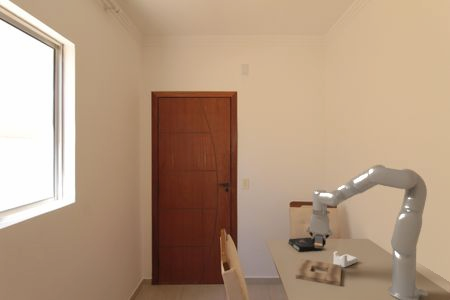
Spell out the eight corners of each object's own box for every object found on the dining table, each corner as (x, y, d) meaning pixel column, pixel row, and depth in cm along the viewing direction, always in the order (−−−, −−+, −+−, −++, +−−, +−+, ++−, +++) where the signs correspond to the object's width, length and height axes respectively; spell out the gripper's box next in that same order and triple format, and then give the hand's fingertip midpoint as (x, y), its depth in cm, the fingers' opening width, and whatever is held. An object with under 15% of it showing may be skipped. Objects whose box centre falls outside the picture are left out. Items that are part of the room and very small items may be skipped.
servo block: (323, 244, 163) (323, 233, 163) (322, 250, 154) (322, 239, 154) (316, 243, 165) (316, 232, 164) (314, 249, 155) (314, 238, 155)
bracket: (344, 269, 165) (344, 256, 165) (333, 264, 171) (333, 252, 171) (356, 263, 173) (357, 251, 173) (346, 259, 179) (346, 247, 178)
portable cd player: (288, 244, 206) (288, 239, 206) (310, 242, 209) (310, 237, 209) (298, 253, 190) (298, 247, 190) (322, 251, 193) (322, 245, 193)
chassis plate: (341, 268, 165) (341, 265, 165) (340, 286, 145) (340, 282, 145) (302, 262, 174) (302, 259, 174) (295, 278, 154) (295, 274, 154)
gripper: (336, 212, 159) (335, 245, 159) (305, 209, 165) (304, 240, 166) (335, 215, 152) (334, 250, 152) (303, 212, 158) (302, 245, 159)
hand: (319, 244), depth 159 cm, fingers closed on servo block, 4 cm apart
